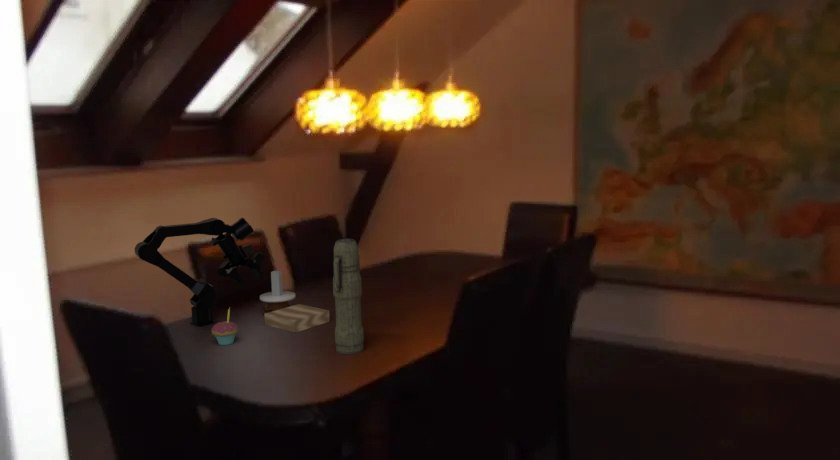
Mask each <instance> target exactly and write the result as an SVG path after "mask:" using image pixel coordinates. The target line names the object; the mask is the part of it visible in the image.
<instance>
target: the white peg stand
mask: <svg viewBox="0 0 840 460" xmlns="http://www.w3.org/2000/svg"><path fill="white" fill-rule="evenodd" d="M270 278H271V279H270V282H271V291H268V292H264V293H262V294H260V295H259V300H260V301H261V302H264V303H268V302H285V301H288V302H289V301H292V300H294V299H296V293H295V292H294V291H290V290H286V291H285V290H284V289H283V287H284V286H283V272H282V270H273V271H271V272H270Z"/></svg>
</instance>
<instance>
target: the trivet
mask: <svg viewBox="0 0 840 460" xmlns="http://www.w3.org/2000/svg"><path fill="white" fill-rule="evenodd" d="M263 315H264V326H269V327H273V328H276V329H279V330H283V331H287V332H291V333H292V332H293V333H298V332H301V331H304V330H308V329H310V328H314V327H317V326H320V325H323V324H326V323H329V322H330V310H328V309H325V308H324V309H323V308H318V307H314V306H310V305H305V304H300V303H297V304H294V305H291V306H290V307H286V308H283V309H279V310H276V311H272V312H269V313H265V314H264V313H263Z"/></svg>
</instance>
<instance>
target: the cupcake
mask: <svg viewBox="0 0 840 460" xmlns="http://www.w3.org/2000/svg"><path fill="white" fill-rule="evenodd" d="M230 313H231V307H229V308H228V309H227V317H226V318H227V320H225V321H219V322H216V323H215V324H214V325H213V326H212V327H211V335H213V336H214V337H215V338H216V341H217V342H218V343H217V344H218V345H220V346H228V345H232V344H233V343H234V341H235V337H236V334H237V333H238V332H239V328H240V327H239V325H238V324H237V323H235V322H233V321H230V315H231V314H230Z"/></svg>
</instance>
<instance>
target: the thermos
mask: <svg viewBox="0 0 840 460" xmlns="http://www.w3.org/2000/svg"><path fill="white" fill-rule="evenodd" d="M334 243H335V244H334V246H333V262H332V265H333V277H332V290H333V291H332V294H333V298H334V303H335V305H334V306H335V307H334V308H335V328H334V343H335V351H336V353H338V354H340V355H341V354H342V355H353V354H359V353H361V352H363V351H364V349H365V348H364V342H365V339H364V338H365V335H364V327H363V324H362V301H361V299H362V295H363V288H362V287H363V285H362V281H363V280H362V276H361V269H360V268H361V265H360V262H361V261H360V254H359V247H358V244H357V242H356V240H355V239H353V238H339V239H338V240H336V241H335V242H334Z"/></svg>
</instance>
